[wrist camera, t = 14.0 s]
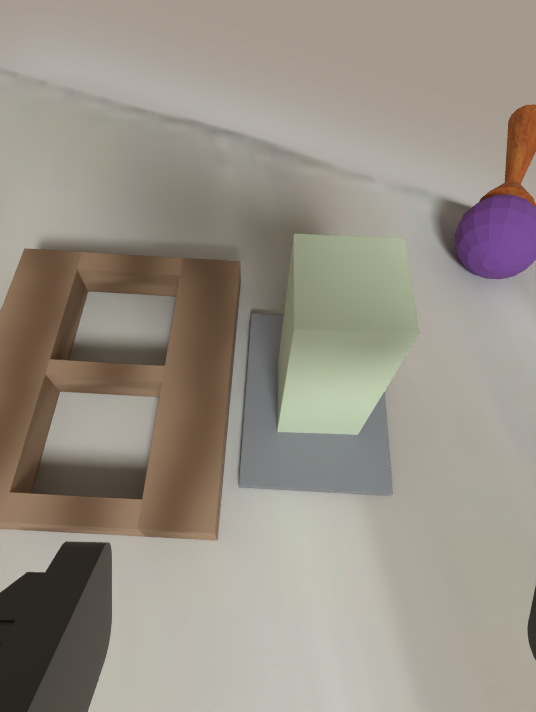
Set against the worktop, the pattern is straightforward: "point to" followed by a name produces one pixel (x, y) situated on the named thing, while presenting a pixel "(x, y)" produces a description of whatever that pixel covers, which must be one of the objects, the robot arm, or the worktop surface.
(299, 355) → the sage block
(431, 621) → the worktop surface
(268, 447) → the slate mat
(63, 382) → the puzzle board
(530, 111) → the purple maraca
